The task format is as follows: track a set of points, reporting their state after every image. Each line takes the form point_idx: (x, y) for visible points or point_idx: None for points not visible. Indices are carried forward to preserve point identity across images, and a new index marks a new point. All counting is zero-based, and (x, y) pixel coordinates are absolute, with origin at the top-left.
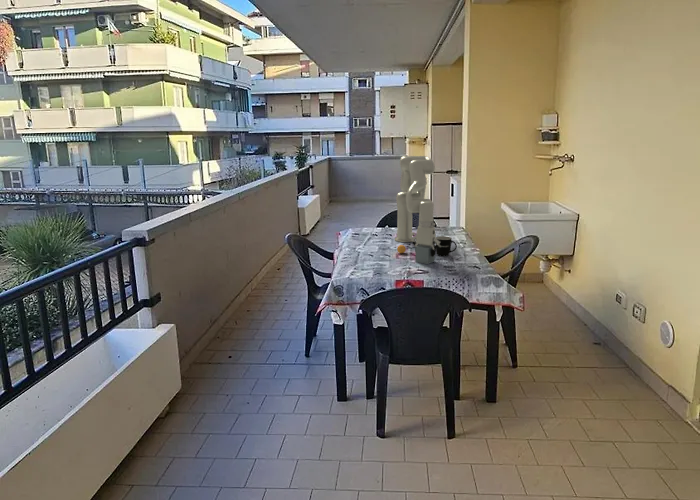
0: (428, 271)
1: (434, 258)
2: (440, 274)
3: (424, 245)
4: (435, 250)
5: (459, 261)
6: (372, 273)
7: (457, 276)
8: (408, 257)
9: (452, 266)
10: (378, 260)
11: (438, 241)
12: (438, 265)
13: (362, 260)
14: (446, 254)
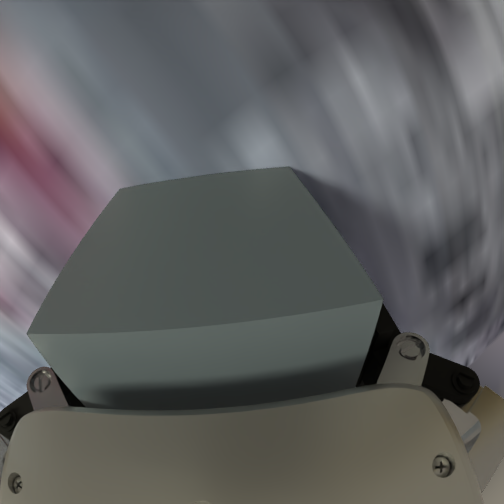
0: None
1: (297, 181)
2: None
3: (175, 408)
4: (394, 328)
5: (477, 49)
6: None
7: (482, 336)
8: (11, 240)
9: (471, 222)
10: (22, 384)
11: (496, 450)
12: (383, 268)
13: (8, 402)
14: None
